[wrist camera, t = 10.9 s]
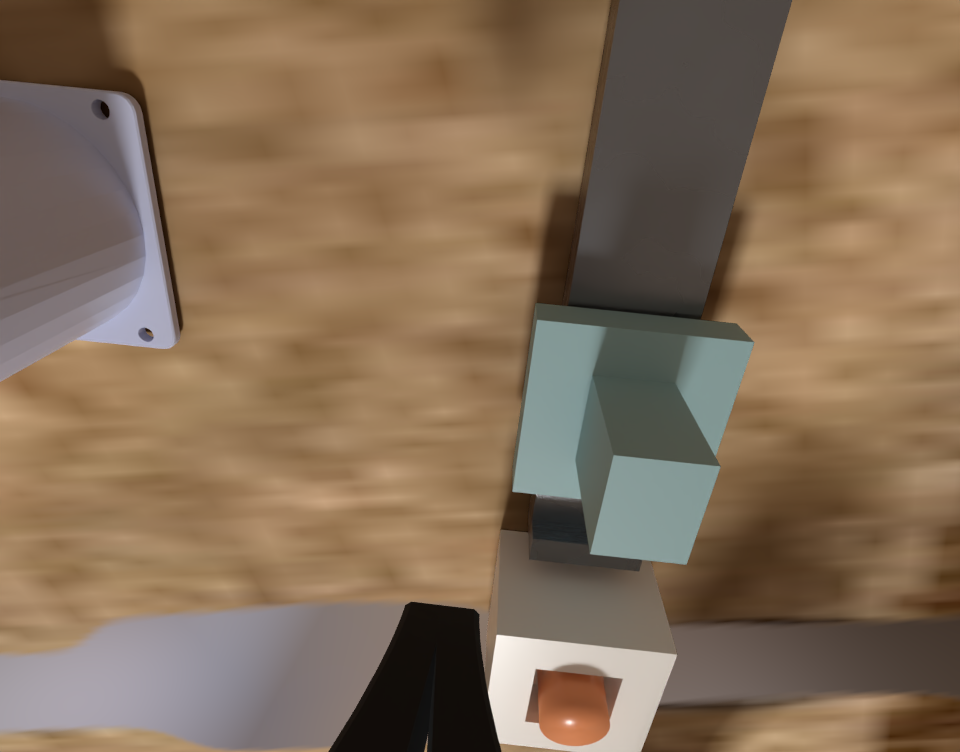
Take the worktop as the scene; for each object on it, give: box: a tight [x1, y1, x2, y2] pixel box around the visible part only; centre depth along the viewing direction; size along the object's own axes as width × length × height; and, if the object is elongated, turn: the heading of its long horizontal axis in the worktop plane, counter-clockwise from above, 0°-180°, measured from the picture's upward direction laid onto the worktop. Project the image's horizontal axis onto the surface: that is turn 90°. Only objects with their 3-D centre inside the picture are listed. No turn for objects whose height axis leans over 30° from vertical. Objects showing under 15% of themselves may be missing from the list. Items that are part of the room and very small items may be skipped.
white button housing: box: [485, 530, 677, 752], centre depth 22 cm, size 6×6×5 cm
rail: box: [528, 0, 792, 571], centre depth 15 cm, size 4×26×2 cm, turn 175°
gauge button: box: [537, 669, 610, 746], centre depth 20 cm, size 2×2×2 cm
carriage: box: [512, 303, 754, 565], centre depth 16 cm, size 6×6×5 cm
